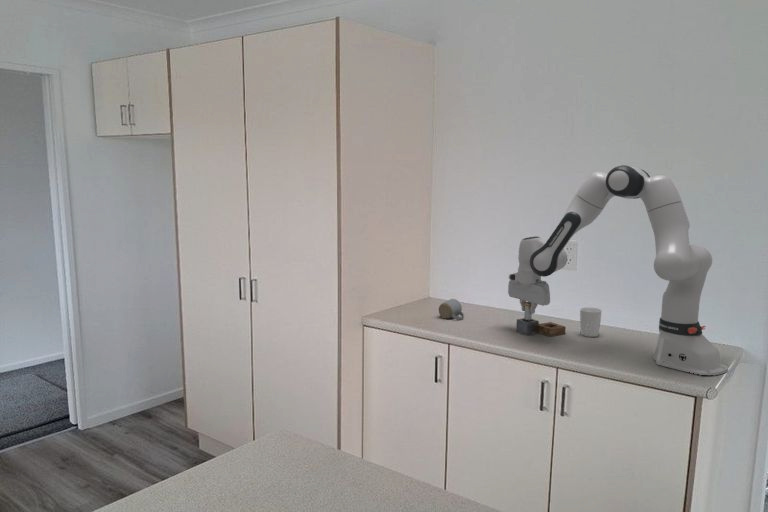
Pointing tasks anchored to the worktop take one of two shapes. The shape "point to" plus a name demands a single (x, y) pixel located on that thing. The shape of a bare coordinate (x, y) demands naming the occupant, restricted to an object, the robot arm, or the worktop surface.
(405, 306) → the worktop surface
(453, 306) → the ceramic mug
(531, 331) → the socket block
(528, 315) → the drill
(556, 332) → the block
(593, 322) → the white cup
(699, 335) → the robot arm
